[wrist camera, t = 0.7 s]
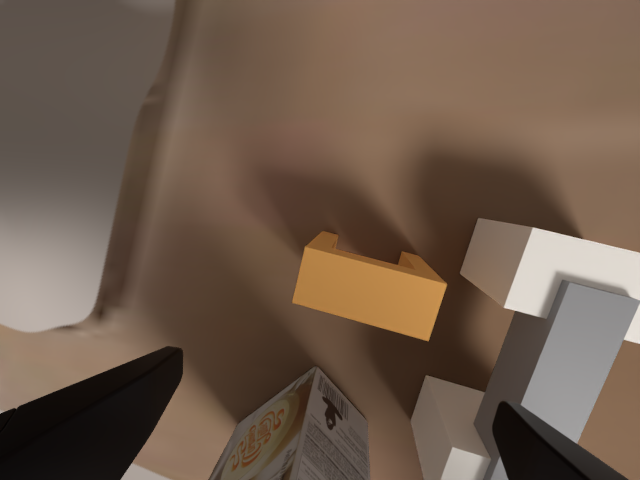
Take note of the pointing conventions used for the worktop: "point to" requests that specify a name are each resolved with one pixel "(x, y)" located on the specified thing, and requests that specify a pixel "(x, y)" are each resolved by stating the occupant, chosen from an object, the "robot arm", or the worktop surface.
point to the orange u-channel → (370, 288)
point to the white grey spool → (532, 343)
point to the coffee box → (299, 437)
